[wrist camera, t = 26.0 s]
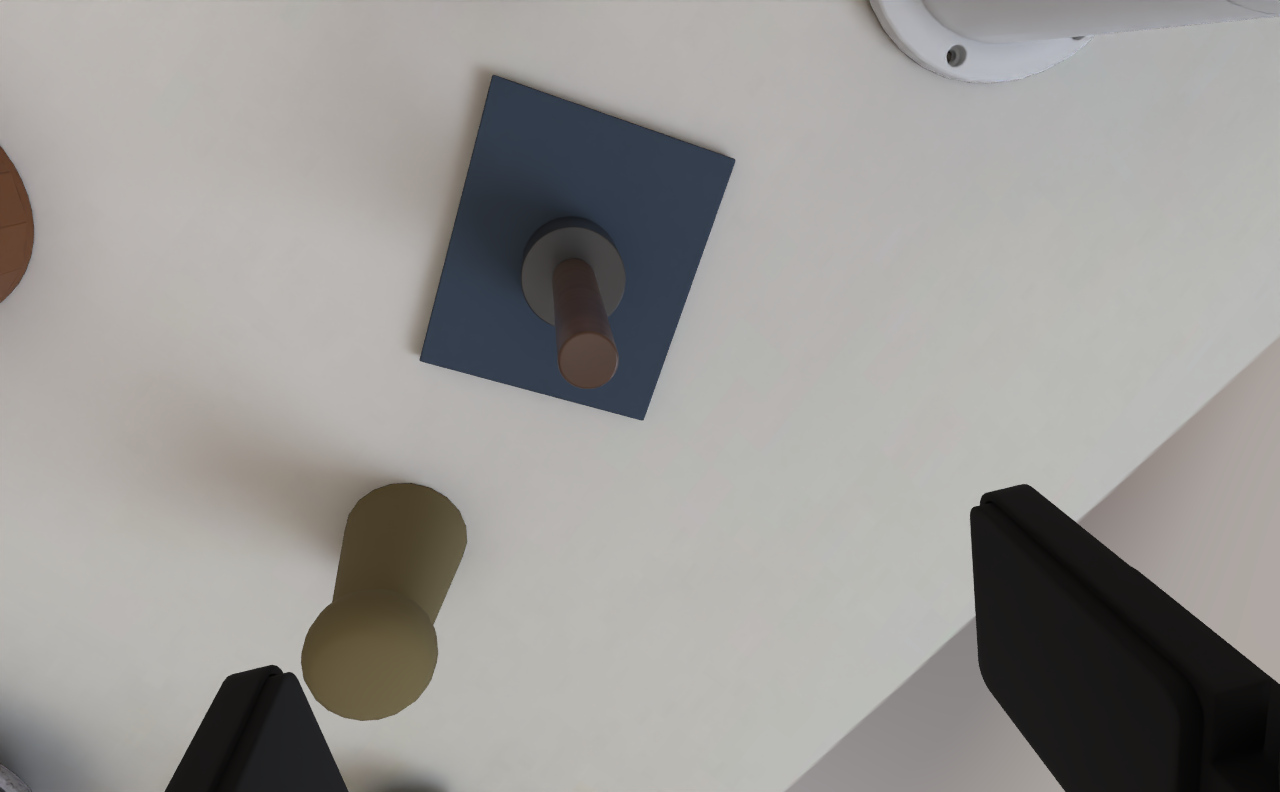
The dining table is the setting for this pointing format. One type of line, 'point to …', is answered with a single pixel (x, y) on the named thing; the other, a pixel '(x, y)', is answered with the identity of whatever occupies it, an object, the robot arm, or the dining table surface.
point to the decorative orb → (11, 781)
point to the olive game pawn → (385, 603)
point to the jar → (13, 227)
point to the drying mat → (581, 187)
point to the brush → (576, 295)
